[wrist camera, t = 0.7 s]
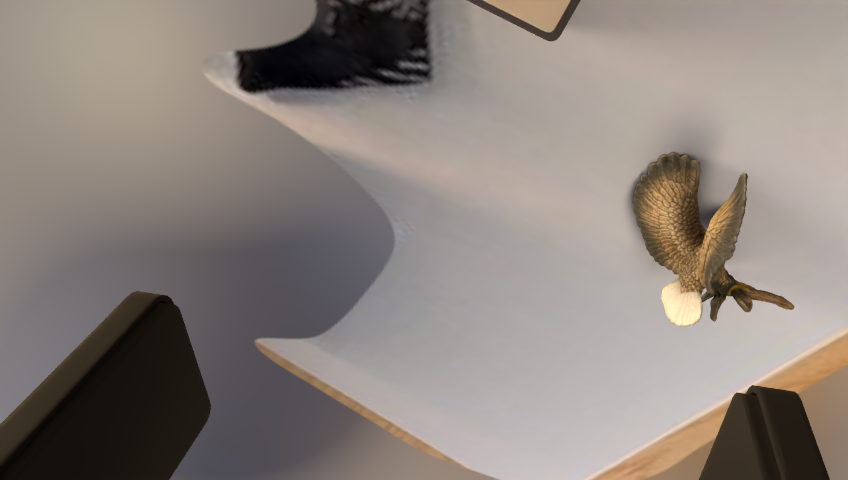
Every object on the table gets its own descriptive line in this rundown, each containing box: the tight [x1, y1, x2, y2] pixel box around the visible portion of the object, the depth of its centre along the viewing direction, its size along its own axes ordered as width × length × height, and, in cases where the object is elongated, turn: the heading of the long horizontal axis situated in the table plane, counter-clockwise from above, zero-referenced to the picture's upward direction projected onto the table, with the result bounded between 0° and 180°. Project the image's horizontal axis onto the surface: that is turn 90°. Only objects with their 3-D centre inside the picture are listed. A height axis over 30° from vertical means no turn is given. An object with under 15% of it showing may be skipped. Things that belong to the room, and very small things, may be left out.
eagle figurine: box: [633, 153, 794, 326], centre depth 34 cm, size 8×7×9 cm
